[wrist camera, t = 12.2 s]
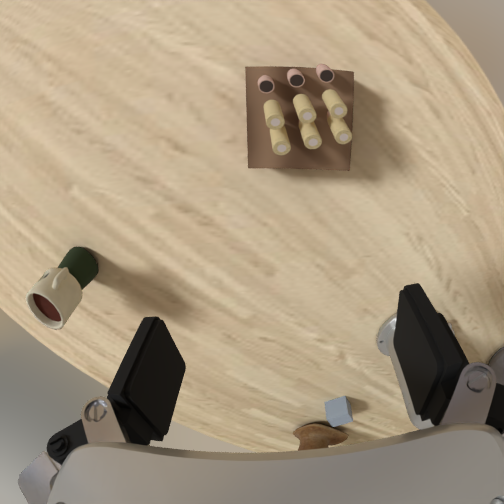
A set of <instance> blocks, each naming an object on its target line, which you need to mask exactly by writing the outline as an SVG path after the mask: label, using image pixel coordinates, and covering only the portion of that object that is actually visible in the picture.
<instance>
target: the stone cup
mask: <svg viewBox="0 0 504 504" xmlns="http://www.w3.org/2000/svg"><path fill="white" fill-rule="evenodd" d="M293 434H294V435H295V436H296V437H297V438H298V439H299V440H300V446H299V449H298V451H300V450H311V449H321V448H328V445H336V444H339V443H341V442H343V441H345V440H346V439H347V438H348V436H349V435H348V434H346V433H344V432H341V431H339V430H336V429H334V428H331V427H328V426H325V425H322V424H316V423H314V424H308V425H305V426H302V427H300V428H298V429H296V431H294V432H293Z"/></svg>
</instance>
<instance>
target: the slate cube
mask: <svg viewBox="0 0 504 504" xmlns="http://www.w3.org/2000/svg"><path fill="white" fill-rule="evenodd" d="M325 410H326V418H327V421H328V422H329V423H330V424H331V425H332V427H335V426H339V425H342V424H346V423H349V422H352V421H353V417H352V411H351V405H350V403H349V401H348V400H347V398H346V396H343V397H340V398H337V399H333V400H330V401H327V402H325Z"/></svg>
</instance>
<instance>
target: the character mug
mask: <svg viewBox="0 0 504 504" xmlns="http://www.w3.org/2000/svg"><path fill="white" fill-rule="evenodd" d="M97 273H98V266H97V263H96V261H95V260H94V258H93V257H92V256H91V255H90V254H89V253H88V252H87V251H86V250H85V249H83V248H82V247H74V248H72V249H70V250H69V252H68V253H67V254H66V256H65V257H64V259H63V260H62V262H61V263H60V265H59V267H58V268H50V269H48V270H47V271H46V272H45V273H44V275H43V276H42V277H41V278H40V280H39V281H38V282H36V283H35V284H34V286H33V287H32V288H31V289H30V291H29V292H28V293H27V295H26V302H27V305H28V307H29V309H30V311H31V312H32V314H33V315H34V316H35V318H36V319H37V320H39V321H40V322H41V323H42V324H43V325H45V326H47V327H48V328H51V329H55V330H57V329H61V328H62V327H63V326H64V324H65V323H66V322H67V320H68V319H69V317H70V316H71V314H72V313H73V311H74V310H75V308H76V307H77V305H78V304H79V303H80V301H81V299H82V289H83V288H84V287H86V286H87V285H88V284H89V283H90V282H91V281H92V280H93V279H94V278H95V277H96V275H97Z"/></svg>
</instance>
